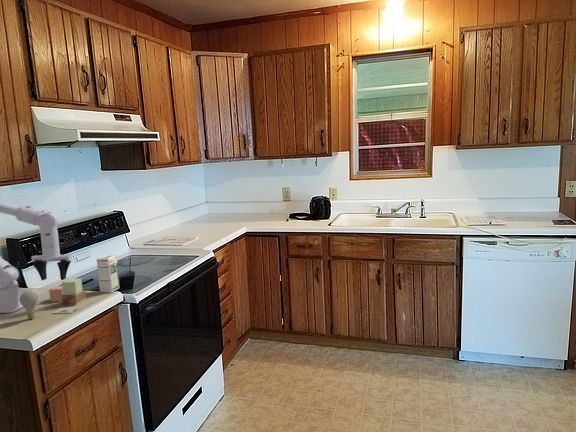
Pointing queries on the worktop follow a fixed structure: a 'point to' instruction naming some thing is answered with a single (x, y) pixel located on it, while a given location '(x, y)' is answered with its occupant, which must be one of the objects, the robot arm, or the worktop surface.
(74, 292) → the sage block
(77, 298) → the walnut block
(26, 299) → the light bulb
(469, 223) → the worktop surface
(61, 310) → the card
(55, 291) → the terracotta block
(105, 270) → the syrup box
